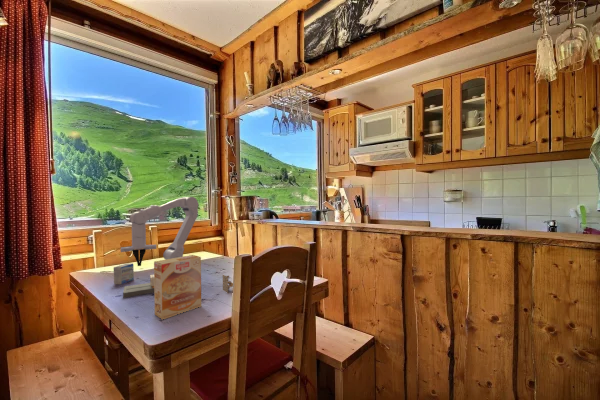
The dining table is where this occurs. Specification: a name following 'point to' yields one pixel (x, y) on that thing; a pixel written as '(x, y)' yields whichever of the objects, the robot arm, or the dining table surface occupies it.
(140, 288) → the fader panel
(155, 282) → the coffeecake box
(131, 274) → the medicine box
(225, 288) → the architectural model
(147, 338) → the dining table surface
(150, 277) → the fader knob
